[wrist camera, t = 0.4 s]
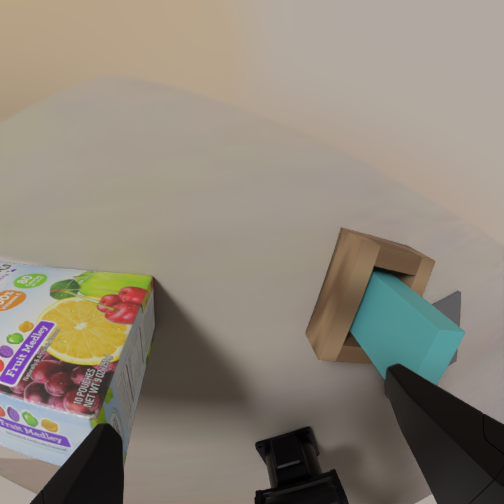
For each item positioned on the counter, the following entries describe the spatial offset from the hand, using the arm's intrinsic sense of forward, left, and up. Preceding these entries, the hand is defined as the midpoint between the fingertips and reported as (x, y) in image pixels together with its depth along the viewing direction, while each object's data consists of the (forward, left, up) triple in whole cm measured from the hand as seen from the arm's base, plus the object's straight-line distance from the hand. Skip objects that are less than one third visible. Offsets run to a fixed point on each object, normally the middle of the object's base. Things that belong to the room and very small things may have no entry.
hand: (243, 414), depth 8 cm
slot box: (-7, -10, -16) cm, 20 cm away
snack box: (+2, +16, -16) cm, 23 cm away
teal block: (-7, -10, -16) cm, 20 cm away
